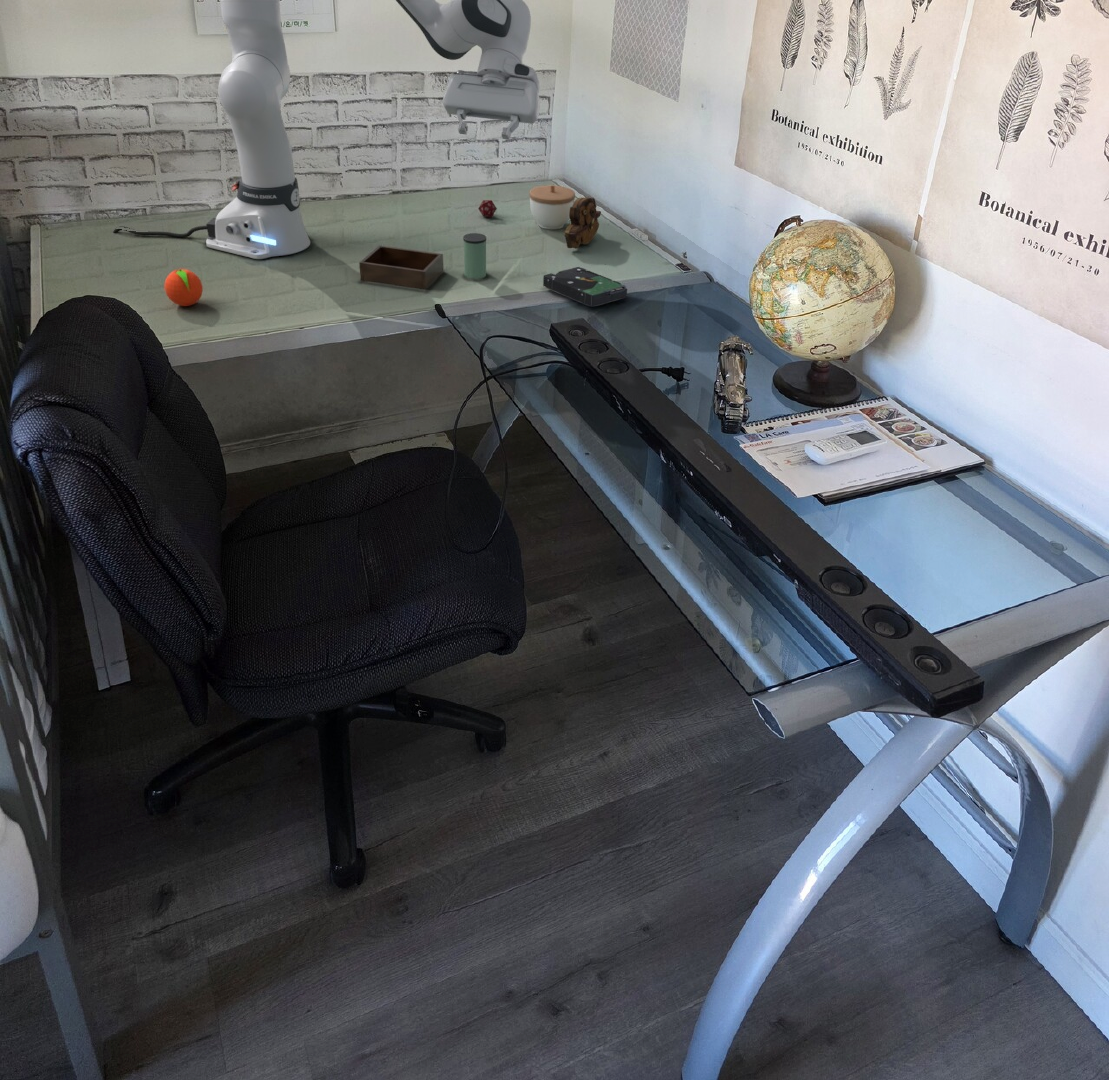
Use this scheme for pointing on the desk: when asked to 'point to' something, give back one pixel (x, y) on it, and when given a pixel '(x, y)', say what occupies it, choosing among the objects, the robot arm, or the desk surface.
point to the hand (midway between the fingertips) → (483, 135)
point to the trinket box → (551, 205)
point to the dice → (487, 208)
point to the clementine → (183, 287)
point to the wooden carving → (582, 222)
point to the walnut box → (401, 267)
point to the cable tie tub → (474, 255)
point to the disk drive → (585, 286)
